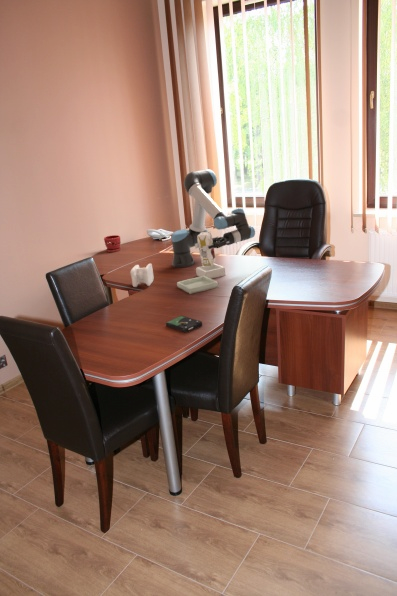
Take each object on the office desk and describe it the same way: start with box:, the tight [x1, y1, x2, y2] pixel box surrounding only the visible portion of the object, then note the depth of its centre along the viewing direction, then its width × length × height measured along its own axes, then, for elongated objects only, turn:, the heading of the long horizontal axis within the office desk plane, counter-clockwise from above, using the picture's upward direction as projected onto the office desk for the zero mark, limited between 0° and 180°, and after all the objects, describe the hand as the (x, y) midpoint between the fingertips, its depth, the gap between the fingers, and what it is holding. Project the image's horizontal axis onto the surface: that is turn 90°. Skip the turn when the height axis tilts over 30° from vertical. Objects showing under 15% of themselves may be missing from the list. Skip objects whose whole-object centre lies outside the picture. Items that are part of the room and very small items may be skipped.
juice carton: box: [197, 231, 216, 266], centre depth 290 cm, size 8×9×19 cm
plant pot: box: [103, 234, 122, 253], centre depth 404 cm, size 13×13×12 cm
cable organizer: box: [129, 263, 155, 288], centre depth 301 cm, size 15×11×12 cm
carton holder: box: [195, 262, 226, 280], centre depth 305 cm, size 13×13×5 cm
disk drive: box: [165, 314, 203, 334], centre depth 230 cm, size 10×3×15 cm
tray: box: [176, 276, 219, 295], centre depth 285 cm, size 18×18×3 cm
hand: (199, 247), depth 288 cm, fingers closed on juice carton, 9 cm apart
